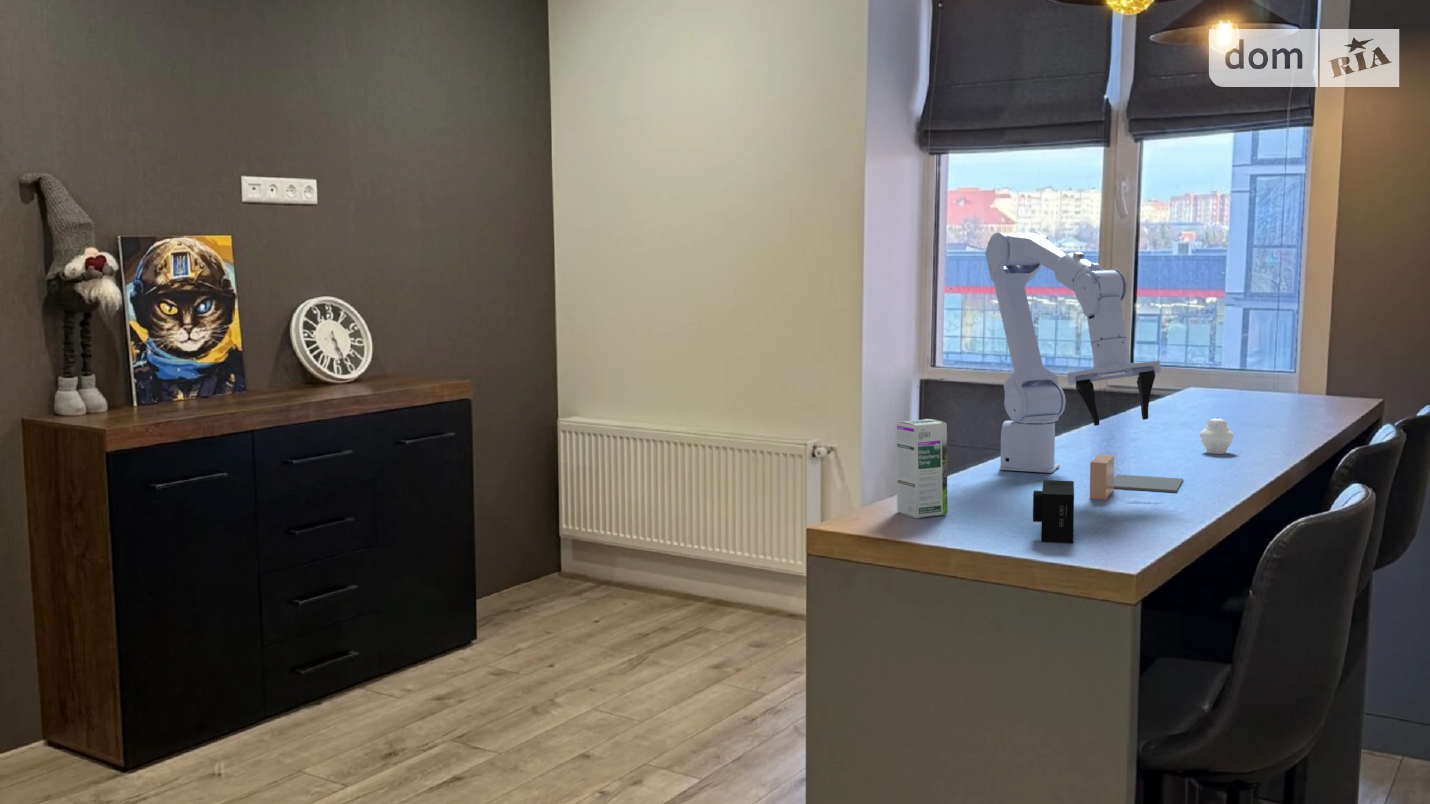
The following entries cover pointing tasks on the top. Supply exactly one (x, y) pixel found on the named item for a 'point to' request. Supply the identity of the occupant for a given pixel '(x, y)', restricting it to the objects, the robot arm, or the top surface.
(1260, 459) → the top surface
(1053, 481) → the digital camera
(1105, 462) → the block
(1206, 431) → the muffin
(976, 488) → the top surface
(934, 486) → the syrup box
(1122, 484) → the mat
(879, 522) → the top surface
